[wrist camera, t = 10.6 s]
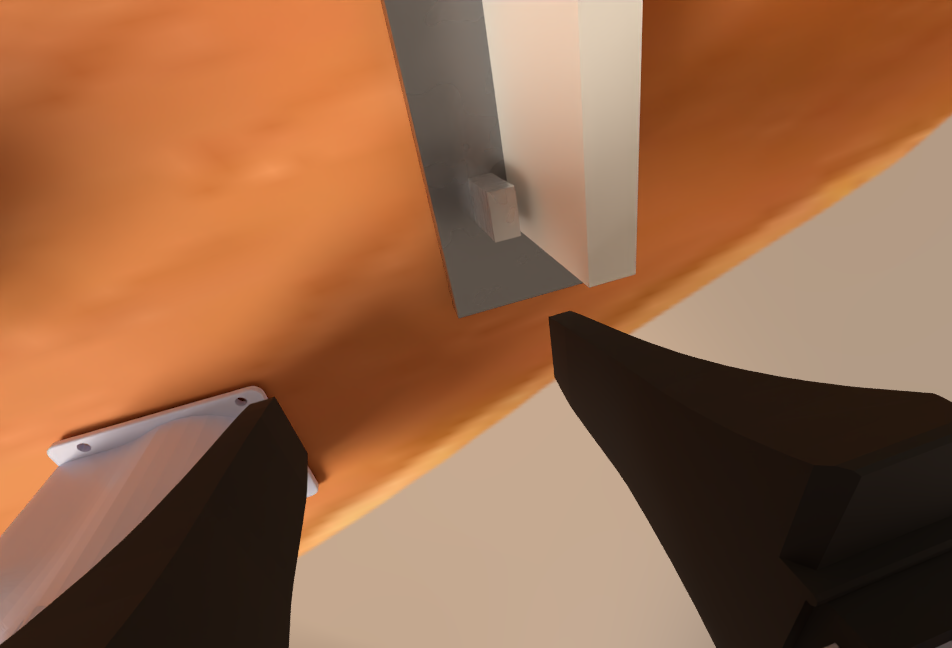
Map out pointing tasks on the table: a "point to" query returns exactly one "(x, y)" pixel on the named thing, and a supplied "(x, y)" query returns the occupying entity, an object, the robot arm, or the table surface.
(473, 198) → the rail
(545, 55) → the cabinet door
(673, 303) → the table surface
